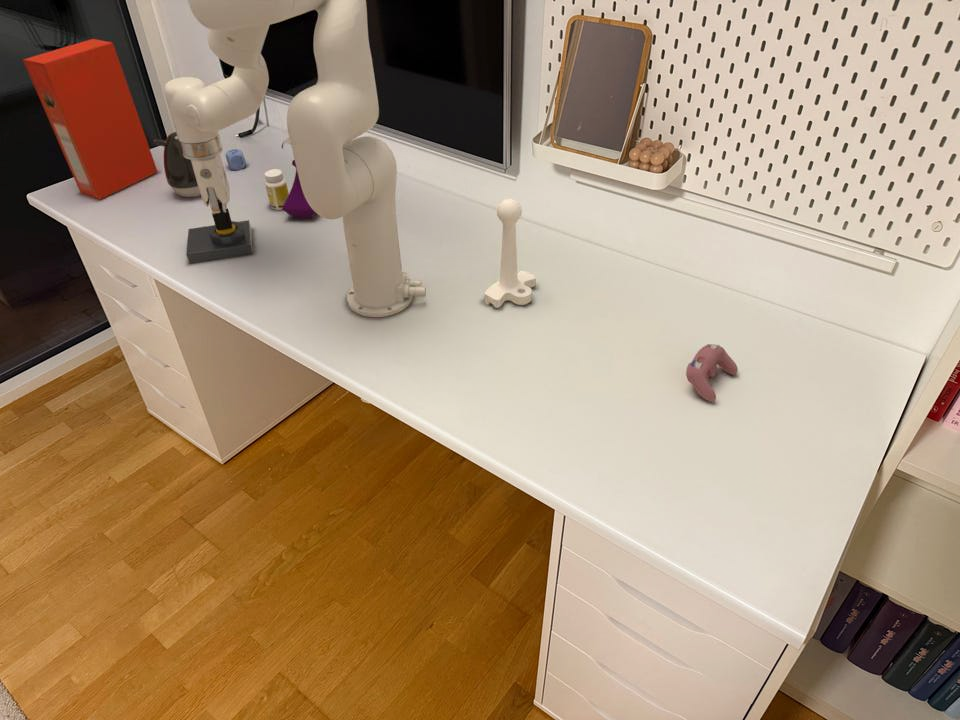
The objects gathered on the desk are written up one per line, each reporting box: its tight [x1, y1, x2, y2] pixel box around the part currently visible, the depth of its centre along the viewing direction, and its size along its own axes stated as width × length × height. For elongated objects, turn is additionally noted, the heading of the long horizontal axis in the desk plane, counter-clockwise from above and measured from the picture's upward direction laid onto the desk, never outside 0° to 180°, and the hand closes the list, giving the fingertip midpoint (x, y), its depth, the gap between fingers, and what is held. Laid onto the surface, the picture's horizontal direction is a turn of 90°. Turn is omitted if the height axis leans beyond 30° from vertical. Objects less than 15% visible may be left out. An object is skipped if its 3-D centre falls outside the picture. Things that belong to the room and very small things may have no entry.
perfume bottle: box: [280, 137, 316, 220], centre depth 156 cm, size 8×8×18 cm
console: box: [185, 219, 254, 265], centre depth 150 cm, size 13×11×4 cm
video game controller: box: [685, 343, 739, 403], centre depth 113 cm, size 10×5×7 cm, turn 141°
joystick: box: [484, 198, 537, 309], centre depth 128 cm, size 11×8×20 cm
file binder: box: [22, 38, 159, 201], centre depth 166 cm, size 8×17×32 cm, turn 149°
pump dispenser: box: [152, 131, 201, 198], centre depth 166 cm, size 10×10×15 cm
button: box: [216, 224, 236, 235], centre depth 148 cm, size 4×4×2 cm
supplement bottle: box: [264, 168, 290, 211], centre depth 162 cm, size 5×5×8 cm
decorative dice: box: [225, 148, 247, 171], centre depth 181 cm, size 4×4×4 cm
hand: (224, 227), depth 148 cm, fingers closed
